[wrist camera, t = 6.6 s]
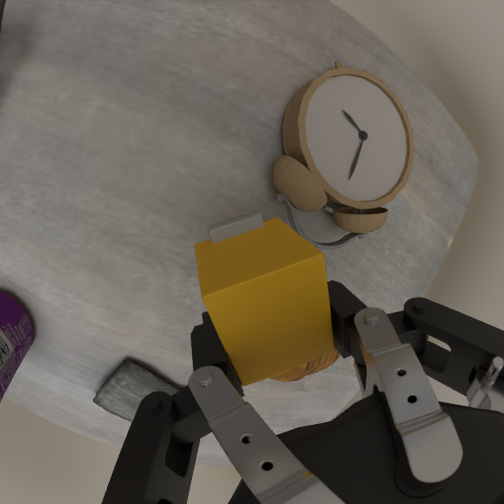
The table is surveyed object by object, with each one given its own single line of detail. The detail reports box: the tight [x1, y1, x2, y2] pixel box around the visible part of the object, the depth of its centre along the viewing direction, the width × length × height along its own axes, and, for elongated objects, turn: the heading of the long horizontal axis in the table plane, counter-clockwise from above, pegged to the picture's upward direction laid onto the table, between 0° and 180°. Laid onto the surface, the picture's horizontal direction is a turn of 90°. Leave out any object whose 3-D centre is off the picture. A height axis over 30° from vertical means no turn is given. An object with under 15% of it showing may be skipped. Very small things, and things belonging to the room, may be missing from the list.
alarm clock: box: [273, 60, 414, 249], centre depth 19 cm, size 11×5×15 cm
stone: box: [93, 360, 181, 422], centre depth 24 cm, size 13×9×3 cm
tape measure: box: [194, 211, 334, 386], centre depth 11 cm, size 5×4×5 cm
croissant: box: [269, 346, 341, 382], centre depth 24 cm, size 14×7×5 cm, turn 70°
